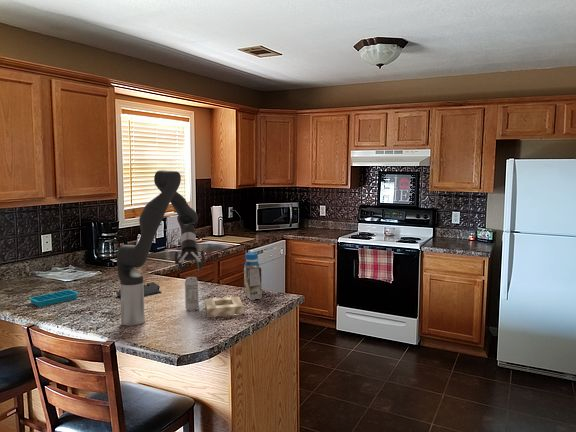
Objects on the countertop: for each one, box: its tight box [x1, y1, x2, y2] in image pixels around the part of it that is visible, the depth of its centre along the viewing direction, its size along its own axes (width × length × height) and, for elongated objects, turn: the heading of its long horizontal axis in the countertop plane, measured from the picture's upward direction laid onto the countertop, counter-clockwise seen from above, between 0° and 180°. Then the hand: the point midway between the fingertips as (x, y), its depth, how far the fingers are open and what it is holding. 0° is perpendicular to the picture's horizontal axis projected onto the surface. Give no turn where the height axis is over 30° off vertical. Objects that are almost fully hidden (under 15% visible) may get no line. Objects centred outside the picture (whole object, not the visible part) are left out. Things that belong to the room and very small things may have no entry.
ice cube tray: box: [28, 289, 80, 307], centre depth 225 cm, size 12×20×3 cm, turn 142°
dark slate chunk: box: [115, 281, 162, 298], centre depth 237 cm, size 15×22×5 cm
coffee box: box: [244, 265, 263, 301], centre depth 228 cm, size 9×6×16 cm
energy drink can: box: [184, 276, 200, 312], centre depth 208 cm, size 6×6×15 cm
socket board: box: [204, 296, 245, 318], centre depth 207 cm, size 16×16×4 cm
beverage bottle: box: [243, 251, 260, 291], centre depth 243 cm, size 8×8×20 cm
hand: (190, 270), depth 217 cm, fingers open, 8 cm apart
